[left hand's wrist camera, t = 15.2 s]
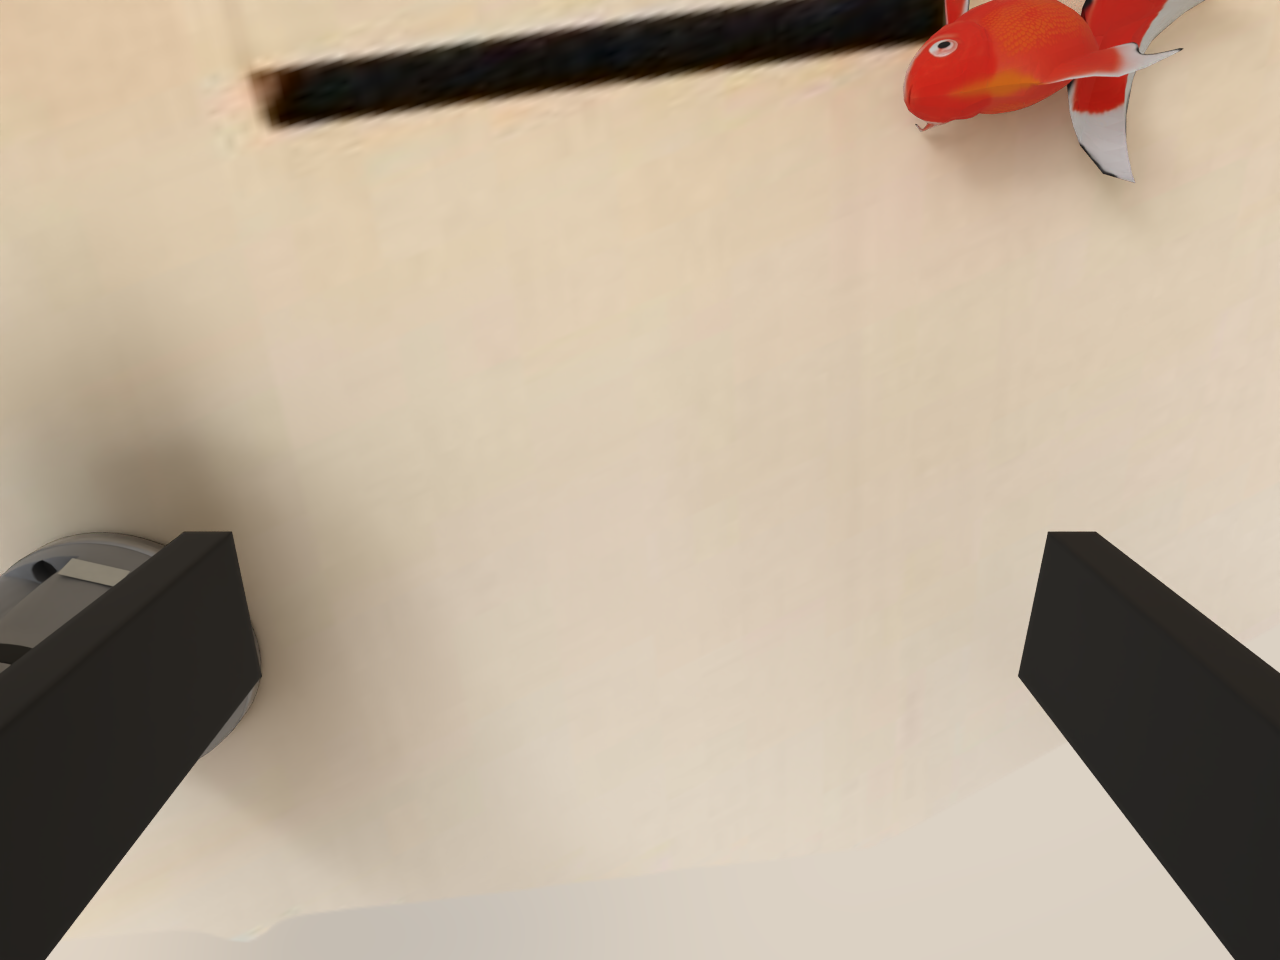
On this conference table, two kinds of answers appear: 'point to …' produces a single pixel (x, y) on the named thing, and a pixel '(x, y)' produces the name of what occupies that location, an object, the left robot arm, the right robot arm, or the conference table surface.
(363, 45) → the conference table surface
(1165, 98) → the conference table surface
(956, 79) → the fish
